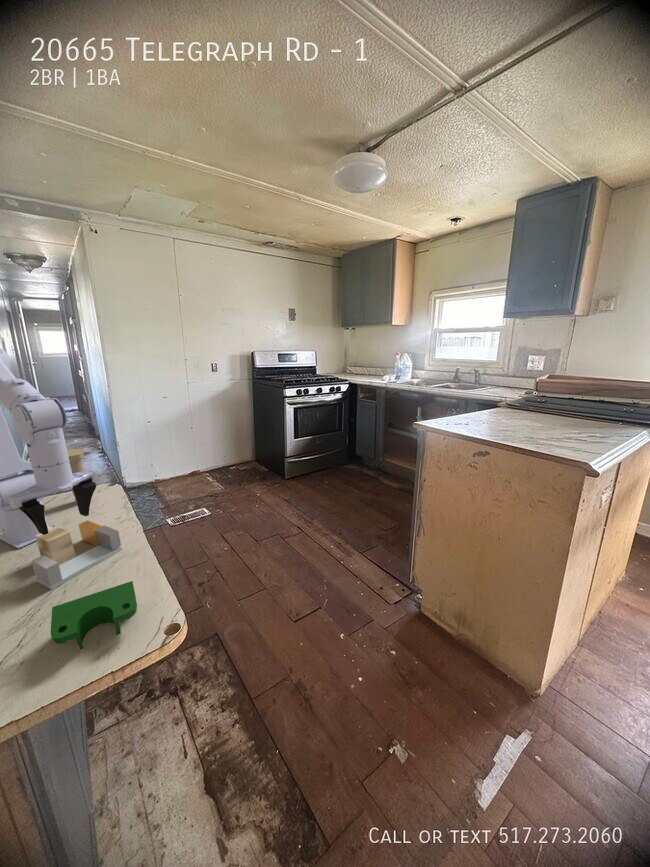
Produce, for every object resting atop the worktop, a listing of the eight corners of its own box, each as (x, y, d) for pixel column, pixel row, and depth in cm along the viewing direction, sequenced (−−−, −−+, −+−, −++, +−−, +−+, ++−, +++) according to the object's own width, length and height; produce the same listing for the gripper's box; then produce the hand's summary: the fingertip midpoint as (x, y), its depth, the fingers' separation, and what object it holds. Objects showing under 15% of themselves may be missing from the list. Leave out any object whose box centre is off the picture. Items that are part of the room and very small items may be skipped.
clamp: (79, 668, 54) (36, 649, 48) (79, 634, 58) (40, 614, 53) (152, 620, 58) (120, 598, 52) (147, 592, 62) (117, 568, 56)
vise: (37, 581, 66) (31, 560, 65) (107, 543, 79) (104, 525, 77) (51, 589, 64) (46, 568, 63) (121, 549, 76) (118, 531, 75)
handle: (73, 508, 94) (61, 457, 90) (72, 499, 99) (61, 451, 94) (93, 503, 97) (83, 454, 92) (92, 494, 102) (82, 447, 97)
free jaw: (81, 539, 79) (78, 522, 78) (90, 535, 81) (87, 518, 80) (113, 553, 75) (109, 535, 73) (121, 548, 76) (118, 531, 75)
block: (41, 559, 73) (35, 535, 71) (62, 549, 76) (56, 526, 75) (54, 566, 71) (48, 542, 69) (75, 555, 74) (69, 532, 72)
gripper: (15, 480, 57) (34, 548, 61) (101, 454, 70) (112, 512, 74) (-5, 472, 60) (13, 537, 64) (80, 448, 73) (92, 504, 77)
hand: (65, 523), depth 69 cm, fingers open, 7 cm apart
